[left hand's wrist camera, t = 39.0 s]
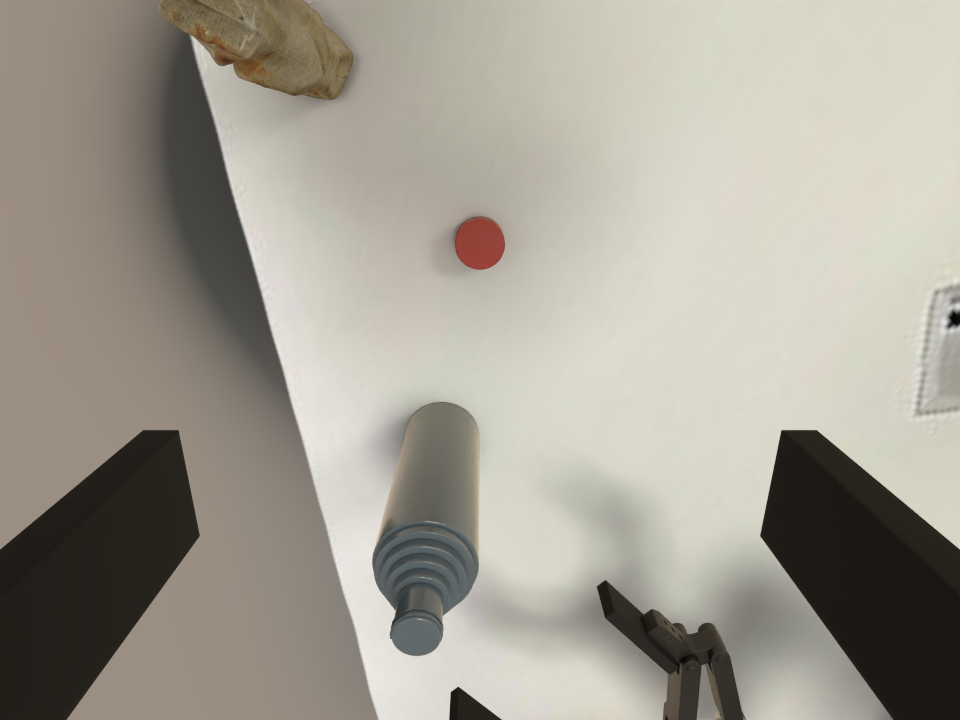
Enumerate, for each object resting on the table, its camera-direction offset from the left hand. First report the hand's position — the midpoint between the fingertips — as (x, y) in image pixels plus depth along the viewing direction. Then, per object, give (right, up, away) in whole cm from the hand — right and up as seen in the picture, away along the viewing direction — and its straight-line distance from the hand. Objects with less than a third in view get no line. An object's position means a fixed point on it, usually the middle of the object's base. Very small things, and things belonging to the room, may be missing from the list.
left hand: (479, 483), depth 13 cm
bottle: (-3, -4, +40) cm, 40 cm away
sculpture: (-12, +25, +29) cm, 41 cm away
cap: (0, +12, +32) cm, 34 cm away
